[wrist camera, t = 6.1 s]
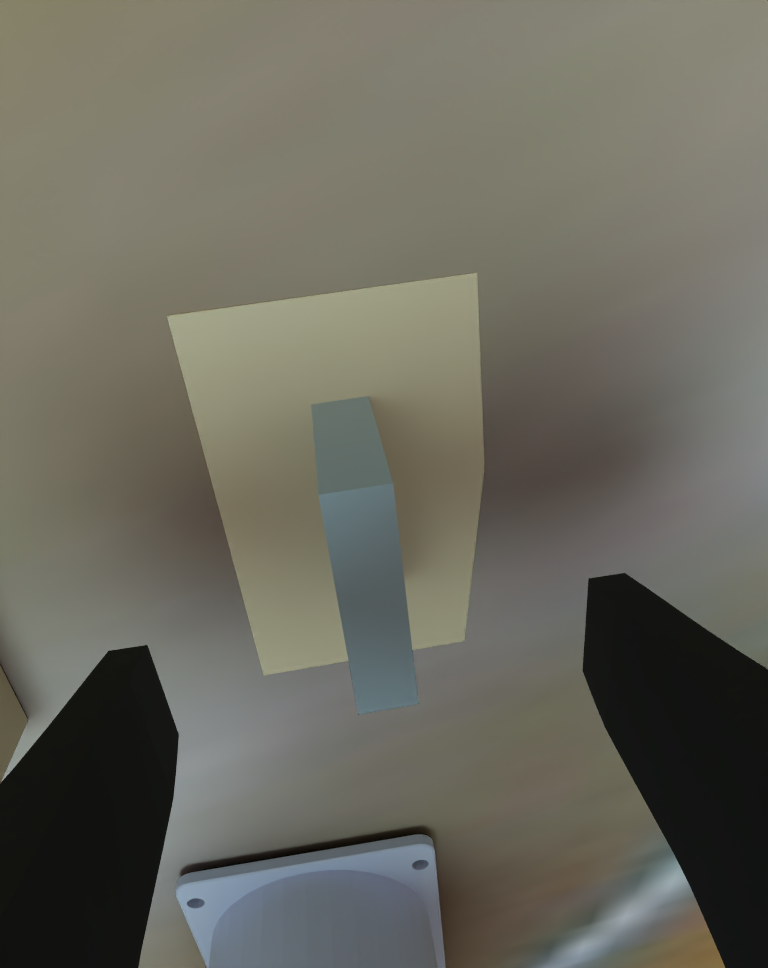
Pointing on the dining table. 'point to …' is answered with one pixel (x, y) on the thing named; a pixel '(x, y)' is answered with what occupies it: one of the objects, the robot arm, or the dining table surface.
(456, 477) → the flap
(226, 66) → the dining table surface
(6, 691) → the panel
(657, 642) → the robot arm
